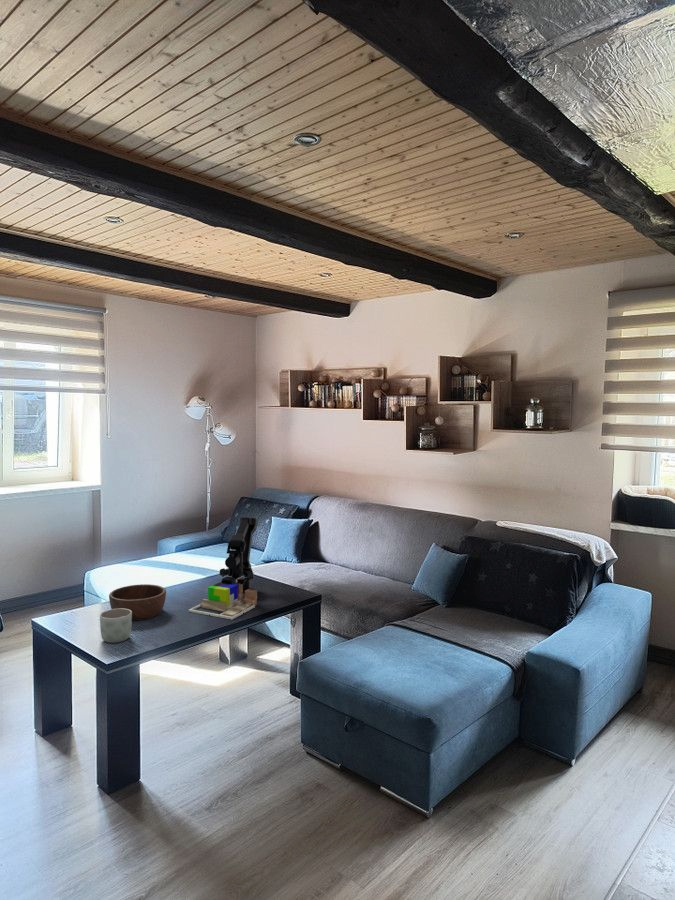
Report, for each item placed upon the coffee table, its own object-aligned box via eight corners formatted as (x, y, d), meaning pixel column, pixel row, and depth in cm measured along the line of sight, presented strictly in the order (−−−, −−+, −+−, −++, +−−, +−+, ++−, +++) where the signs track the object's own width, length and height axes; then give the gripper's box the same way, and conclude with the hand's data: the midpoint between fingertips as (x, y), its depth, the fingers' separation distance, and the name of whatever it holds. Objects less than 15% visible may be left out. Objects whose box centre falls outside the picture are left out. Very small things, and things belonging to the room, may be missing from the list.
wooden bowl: (110, 607, 288) (110, 586, 287) (165, 602, 296) (165, 582, 295) (107, 625, 264) (107, 602, 264) (167, 620, 272) (167, 597, 271)
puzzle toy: (237, 604, 294) (237, 584, 293) (225, 611, 284) (225, 590, 284) (220, 602, 298) (220, 582, 297) (208, 608, 289) (208, 587, 288)
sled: (225, 595, 308) (225, 581, 308) (251, 599, 302) (251, 585, 302) (200, 607, 289) (200, 593, 289) (226, 612, 283) (226, 597, 283)
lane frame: (213, 600, 300) (213, 598, 300) (255, 607, 290) (255, 605, 290) (188, 611, 283) (188, 609, 283) (232, 619, 273) (232, 617, 273)
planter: (122, 631, 257) (122, 606, 257) (138, 639, 249) (137, 613, 249) (94, 639, 248) (94, 613, 247) (109, 647, 240) (109, 620, 239)
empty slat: (248, 603, 296) (248, 589, 295) (256, 604, 294) (256, 590, 293) (223, 616, 277) (223, 601, 276) (232, 618, 275) (232, 603, 274)
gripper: (233, 557, 314) (233, 587, 315) (212, 565, 298) (212, 597, 299) (252, 560, 310) (252, 590, 311) (231, 568, 293) (231, 600, 294)
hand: (236, 594), depth 304 cm, fingers closed on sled, 3 cm apart
